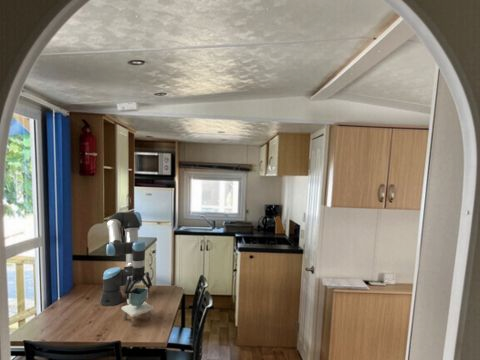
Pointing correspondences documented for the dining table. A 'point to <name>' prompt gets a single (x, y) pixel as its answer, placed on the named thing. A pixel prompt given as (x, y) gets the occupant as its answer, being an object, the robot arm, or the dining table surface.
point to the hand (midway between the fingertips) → (137, 300)
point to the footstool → (137, 311)
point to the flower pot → (138, 296)
